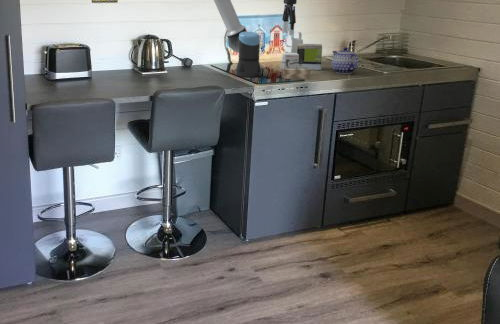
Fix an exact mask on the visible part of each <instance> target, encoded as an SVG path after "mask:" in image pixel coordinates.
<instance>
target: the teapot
mask: <svg viewBox="0 0 500 324" xmlns="http://www.w3.org/2000/svg"><path fill="white" fill-rule="evenodd" d="M332 53H333V56H332V58H331V67H332V68H331V69H332V70H333V71H334V73H336V74H340V75H350V74H353V73H354V72H355V70H356V69H358V66H359V57H358V55H357V54H356V53H355V51H352V50H349V47H347V46H346V47H344V46H343V49H342V50H332Z"/></svg>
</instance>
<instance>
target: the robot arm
mask: <svg viewBox="0 0 500 324" xmlns="http://www.w3.org/2000/svg"><path fill="white" fill-rule="evenodd" d="M213 2H214V4H215V6H216V9H217V11H218V13H219V15H220V17H221V19H222V22H223V24H224V26H225V28H226V34H225V36H226V37H227V44H228V46H229V48H230V49H231V50H232V51H234V52H235V53H238V62H237V64H236V68H235V71H234V73H235V74H234V75H235V76H238V77H244V78H257V77H261V76H262V75H263V70H262V67H261V63H260V46H261V45H260V44H261V43H260V42H261V37H260V35H259V33H257V32H253V31H248V30H247V28H246V26H245V25H242V24H241V21H240V19H239V17H238V14H237V12H236V10H235V6H234V5H233V2H232V0H213ZM283 4H284V7H283V8H284V9H283V13H282V18H281V20H282V33H283V34H287V33H288V36H289V35H291V36H294V35H295V33H294V32H295V24H297V20H296V6H295V5H296V4H297V0H283ZM288 25H289V26H288ZM288 28H289V29H288Z"/></svg>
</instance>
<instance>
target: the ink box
mask: <svg viewBox="0 0 500 324" xmlns="http://www.w3.org/2000/svg"><path fill="white" fill-rule="evenodd" d="M298 63H299V54H297V53H285V52H283V53H282V61H281V75H283V69H298Z"/></svg>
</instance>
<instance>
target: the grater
mask: <svg viewBox="0 0 500 324" xmlns="http://www.w3.org/2000/svg"><path fill="white" fill-rule="evenodd" d="M295 33H296V34H297V33H298V38H297V37H296V38H293V37H292V35H289V34H288V38H286V41H285V47H284V53H297V45H298V44H304V39H302V35H303V33H302V32H299V31H294V34H295Z"/></svg>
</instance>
